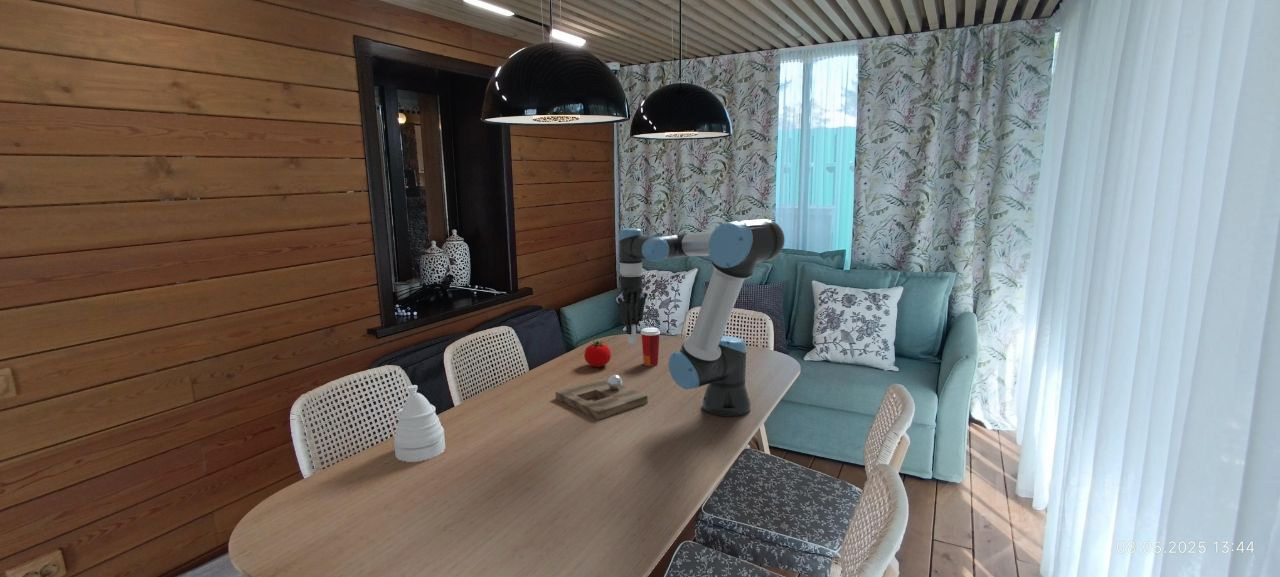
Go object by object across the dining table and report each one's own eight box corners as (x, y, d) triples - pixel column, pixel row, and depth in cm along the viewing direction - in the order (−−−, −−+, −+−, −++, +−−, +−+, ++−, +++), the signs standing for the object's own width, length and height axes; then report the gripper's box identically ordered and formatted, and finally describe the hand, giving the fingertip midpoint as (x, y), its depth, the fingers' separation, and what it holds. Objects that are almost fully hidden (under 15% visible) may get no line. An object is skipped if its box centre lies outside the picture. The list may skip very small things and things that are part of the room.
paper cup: (661, 360, 236) (660, 327, 233) (659, 367, 229) (659, 332, 226) (641, 360, 237) (641, 327, 234) (639, 366, 229) (639, 332, 227)
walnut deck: (647, 403, 192) (647, 395, 192) (598, 419, 180) (598, 412, 179) (603, 384, 210) (603, 377, 210) (555, 398, 198) (555, 391, 197)
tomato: (593, 360, 238) (592, 336, 236) (616, 364, 233) (615, 339, 231) (579, 368, 229) (578, 343, 227) (603, 371, 224) (602, 346, 222)
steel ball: (625, 389, 198) (625, 375, 197) (613, 392, 195) (613, 378, 194) (616, 385, 202) (615, 371, 201) (604, 389, 199) (604, 374, 198)
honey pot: (389, 450, 162) (382, 388, 159) (434, 436, 170) (429, 377, 167) (404, 467, 152) (398, 401, 149) (452, 451, 160) (447, 389, 157)
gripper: (638, 271, 203) (639, 337, 208) (608, 275, 195) (610, 344, 200) (653, 273, 198) (653, 341, 202) (622, 278, 189) (624, 348, 194)
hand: (631, 342), depth 201 cm, fingers closed
